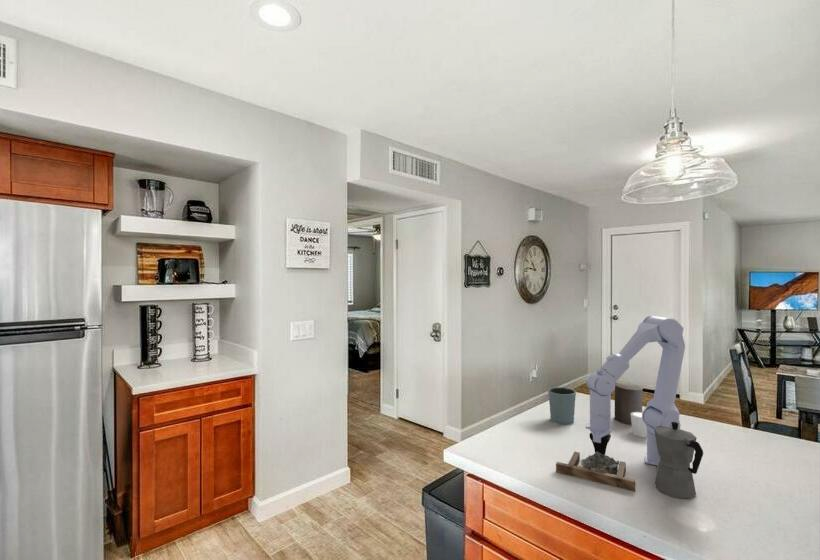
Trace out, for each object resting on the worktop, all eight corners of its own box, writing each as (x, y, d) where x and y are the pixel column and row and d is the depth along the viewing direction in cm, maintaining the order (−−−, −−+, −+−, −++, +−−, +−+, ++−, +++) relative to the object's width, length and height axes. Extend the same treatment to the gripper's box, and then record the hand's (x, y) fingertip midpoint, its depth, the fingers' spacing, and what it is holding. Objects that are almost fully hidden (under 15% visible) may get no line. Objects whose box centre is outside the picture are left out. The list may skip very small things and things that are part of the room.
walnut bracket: (637, 473, 117) (637, 464, 117) (635, 491, 107) (635, 482, 107) (564, 457, 127) (564, 449, 127) (556, 472, 117) (555, 463, 117)
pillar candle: (611, 421, 158) (612, 383, 158) (616, 414, 166) (617, 378, 166) (640, 427, 153) (640, 387, 152) (644, 419, 160) (644, 382, 160)
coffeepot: (641, 478, 114) (641, 414, 113) (672, 476, 115) (672, 413, 114) (683, 510, 98) (683, 435, 98) (719, 507, 99) (719, 434, 99)
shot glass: (656, 438, 142) (656, 418, 142) (636, 437, 142) (636, 417, 142) (645, 430, 149) (645, 411, 149) (626, 430, 149) (626, 411, 149)
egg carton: (603, 483, 111) (603, 468, 111) (578, 472, 117) (578, 458, 117) (622, 471, 118) (622, 457, 118) (597, 462, 124) (597, 448, 124)
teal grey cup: (578, 419, 161) (578, 389, 161) (573, 427, 152) (573, 395, 152) (551, 415, 166) (551, 385, 166) (545, 422, 158) (545, 391, 157)
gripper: (589, 404, 131) (589, 446, 132) (581, 418, 119) (581, 464, 119) (613, 408, 128) (614, 451, 128) (608, 422, 115) (608, 470, 116)
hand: (600, 458), depth 123 cm, fingers closed
